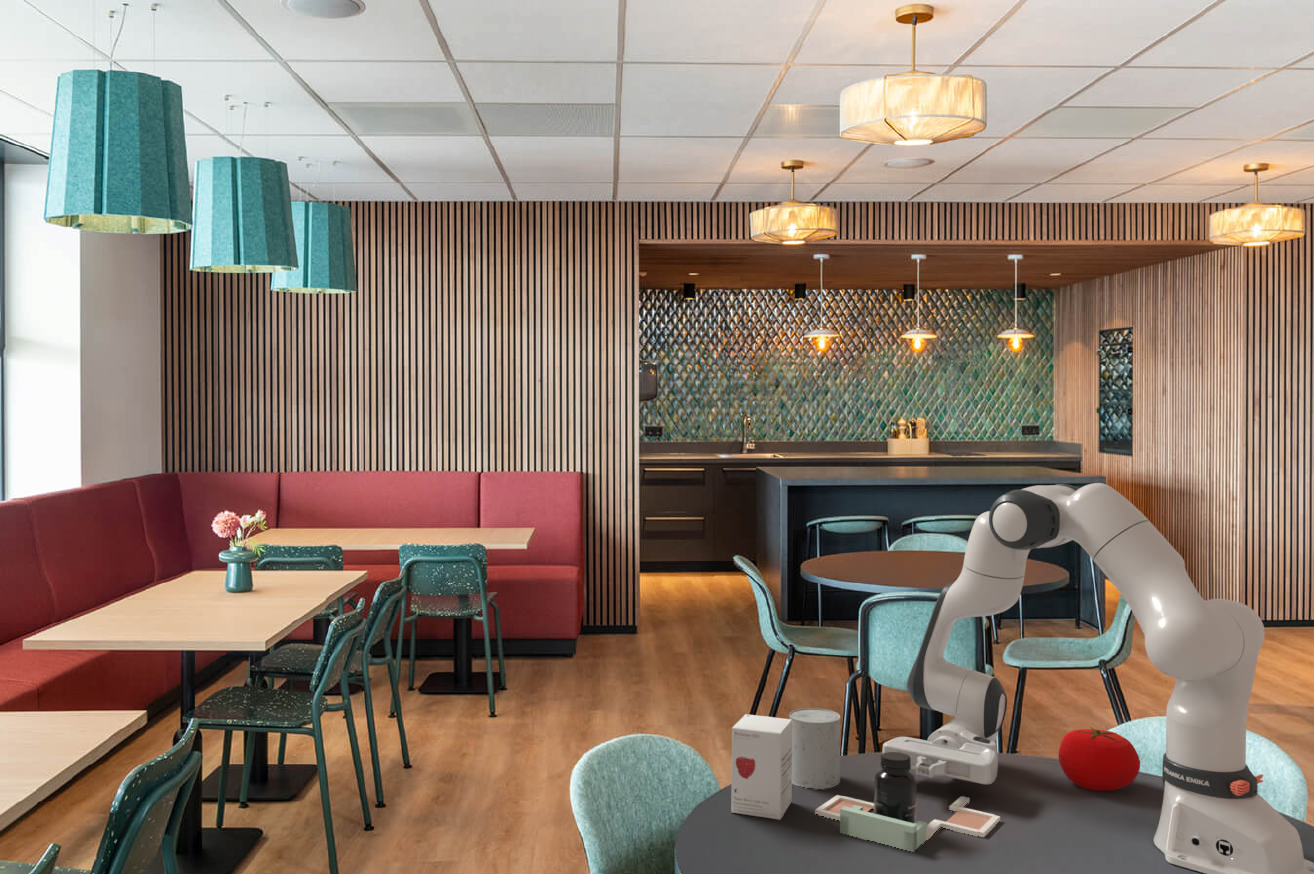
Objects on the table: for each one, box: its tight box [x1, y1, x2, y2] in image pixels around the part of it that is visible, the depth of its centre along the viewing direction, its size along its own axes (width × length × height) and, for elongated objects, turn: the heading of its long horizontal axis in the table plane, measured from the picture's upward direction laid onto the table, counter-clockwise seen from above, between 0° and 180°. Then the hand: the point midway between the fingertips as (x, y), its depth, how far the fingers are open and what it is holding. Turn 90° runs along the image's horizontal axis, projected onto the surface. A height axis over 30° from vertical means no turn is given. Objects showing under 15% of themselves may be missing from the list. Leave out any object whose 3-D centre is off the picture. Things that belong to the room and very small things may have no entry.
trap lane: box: [814, 794, 1001, 853], centre depth 171 cm, size 26×26×4 cm
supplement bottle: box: [873, 752, 917, 823], centre depth 167 cm, size 7×7×12 cm
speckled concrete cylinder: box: [788, 707, 842, 790], centre depth 189 cm, size 10×10×12 cm
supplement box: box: [730, 713, 793, 821], centre depth 175 cm, size 9×9×15 cm
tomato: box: [1058, 727, 1141, 792], centre depth 186 cm, size 14×13×10 cm
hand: (923, 771), depth 177 cm, fingers closed
